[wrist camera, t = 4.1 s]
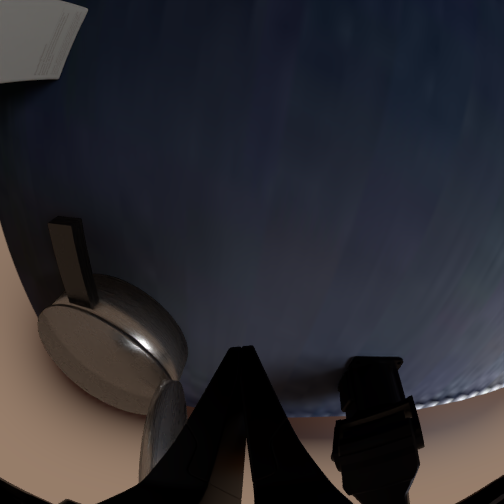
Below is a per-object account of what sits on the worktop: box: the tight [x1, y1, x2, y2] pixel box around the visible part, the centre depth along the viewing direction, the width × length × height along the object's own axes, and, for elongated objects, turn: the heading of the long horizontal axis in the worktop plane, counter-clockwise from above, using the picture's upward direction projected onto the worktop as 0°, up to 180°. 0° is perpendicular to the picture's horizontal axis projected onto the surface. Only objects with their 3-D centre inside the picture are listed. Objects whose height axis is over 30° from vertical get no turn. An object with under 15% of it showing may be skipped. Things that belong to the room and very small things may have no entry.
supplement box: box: [0, 0, 88, 83], centre depth 9 cm, size 7×7×13 cm
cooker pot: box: [38, 216, 188, 415], centre depth 25 cm, size 18×25×6 cm
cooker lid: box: [139, 379, 187, 483], centre depth 16 cm, size 18×18×1 cm
